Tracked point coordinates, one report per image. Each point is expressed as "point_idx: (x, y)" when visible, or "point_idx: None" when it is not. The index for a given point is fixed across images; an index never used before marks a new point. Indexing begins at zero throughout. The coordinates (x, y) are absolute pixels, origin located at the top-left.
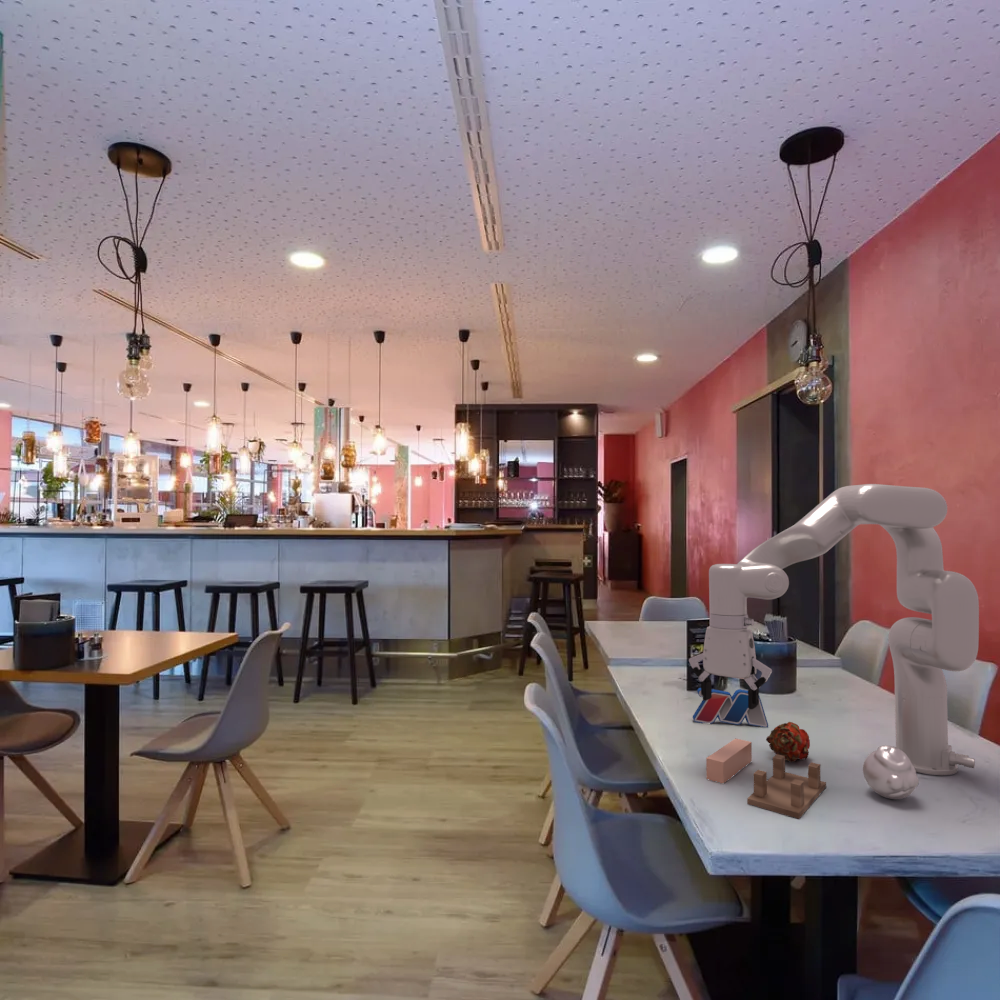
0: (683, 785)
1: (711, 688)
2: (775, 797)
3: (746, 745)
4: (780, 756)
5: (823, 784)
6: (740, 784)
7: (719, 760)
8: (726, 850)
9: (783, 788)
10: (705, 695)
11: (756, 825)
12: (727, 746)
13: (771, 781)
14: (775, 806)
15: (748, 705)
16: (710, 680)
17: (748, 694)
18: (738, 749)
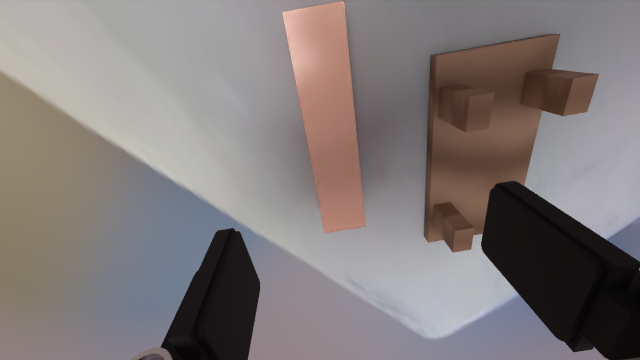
0: (310, 254)
1: (224, 273)
2: (467, 205)
3: (348, 58)
4: (483, 106)
5: (553, 58)
6: (382, 177)
7: (353, 223)
8: (444, 335)
9: (472, 157)
10: (252, 308)
11: (456, 277)
12: (312, 120)
13: (442, 142)
14: (475, 234)
15: (491, 261)
16: (192, 330)
17: (540, 315)
18: (348, 117)
